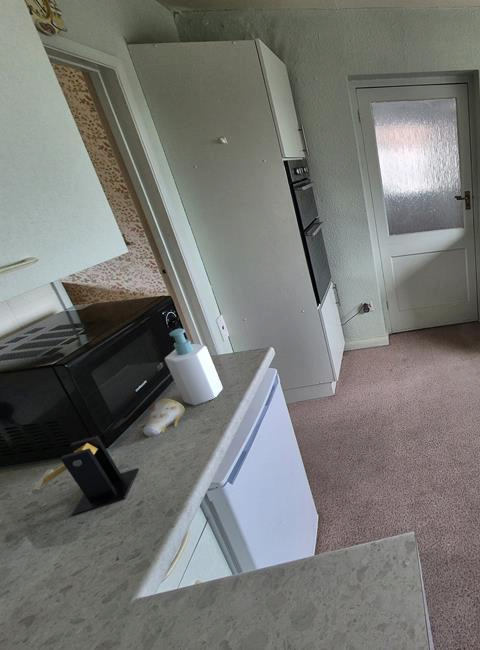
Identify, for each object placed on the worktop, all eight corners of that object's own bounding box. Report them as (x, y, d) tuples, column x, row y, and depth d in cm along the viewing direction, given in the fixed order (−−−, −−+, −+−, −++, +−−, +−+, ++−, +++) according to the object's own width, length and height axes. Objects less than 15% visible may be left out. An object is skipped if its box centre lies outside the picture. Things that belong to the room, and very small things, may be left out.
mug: (137, 443, 99) (132, 404, 100) (174, 432, 108) (169, 397, 109) (157, 439, 97) (152, 400, 98) (194, 429, 106) (188, 393, 107)
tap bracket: (75, 519, 78) (39, 470, 73) (94, 487, 86) (63, 440, 80) (127, 502, 81) (97, 454, 76) (141, 472, 89) (114, 426, 83)
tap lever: (39, 496, 76) (26, 491, 75) (53, 476, 81) (41, 471, 79) (89, 461, 77) (78, 455, 76) (101, 443, 82) (90, 437, 81)
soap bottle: (221, 382, 122) (197, 320, 113) (224, 395, 115) (198, 331, 106) (184, 395, 117) (155, 331, 108) (184, 410, 110) (153, 343, 101)
